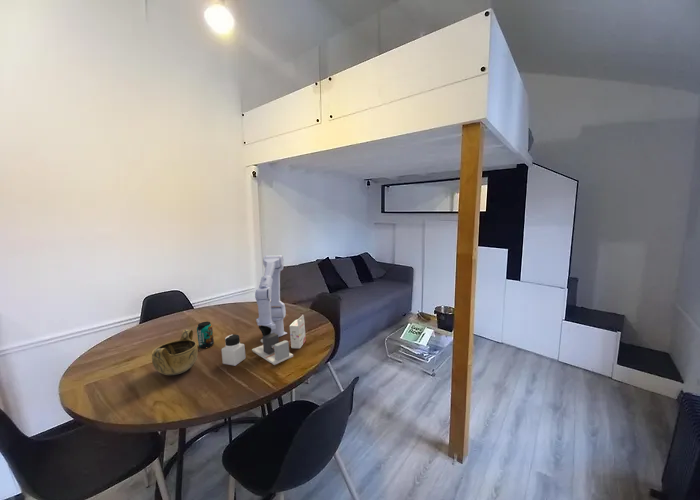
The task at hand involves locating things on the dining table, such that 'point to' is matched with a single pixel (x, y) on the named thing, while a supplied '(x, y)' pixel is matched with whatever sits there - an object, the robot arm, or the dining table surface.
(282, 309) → the robot arm
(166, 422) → the dining table surface
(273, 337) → the grey square sleeve
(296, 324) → the ink cartridge box
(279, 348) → the pipe stand
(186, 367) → the ceramic bowl
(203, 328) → the beverage can
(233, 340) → the medicine bottle
